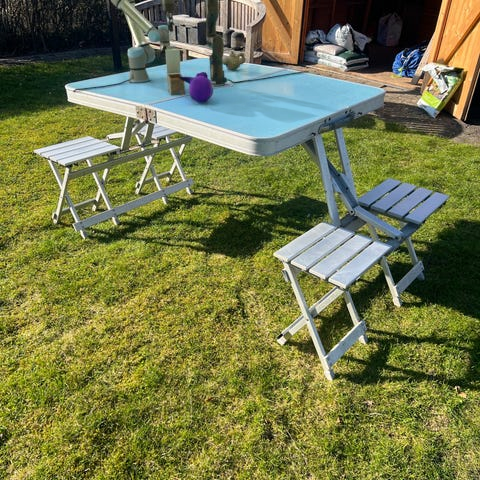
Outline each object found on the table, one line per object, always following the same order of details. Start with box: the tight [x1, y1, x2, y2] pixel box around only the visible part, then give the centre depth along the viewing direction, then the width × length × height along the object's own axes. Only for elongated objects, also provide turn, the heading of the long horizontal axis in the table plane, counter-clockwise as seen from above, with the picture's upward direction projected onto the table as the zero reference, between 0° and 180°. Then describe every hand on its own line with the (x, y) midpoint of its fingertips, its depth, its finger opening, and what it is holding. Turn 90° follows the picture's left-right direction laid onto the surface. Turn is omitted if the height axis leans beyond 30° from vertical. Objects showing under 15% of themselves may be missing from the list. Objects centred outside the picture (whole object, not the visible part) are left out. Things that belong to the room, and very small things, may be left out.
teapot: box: [223, 50, 246, 71], centre depth 368 cm, size 21×12×15 cm, turn 120°
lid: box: [165, 45, 181, 75], centre depth 302 cm, size 17×9×9 cm
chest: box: [166, 72, 186, 96], centre depth 302 cm, size 16×9×10 cm, turn 14°
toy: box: [178, 71, 214, 104], centre depth 278 cm, size 16×18×27 cm
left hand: (170, 54), depth 309 cm, fingers open, 13 cm apart
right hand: (170, 31), depth 288 cm, fingers open, 8 cm apart
